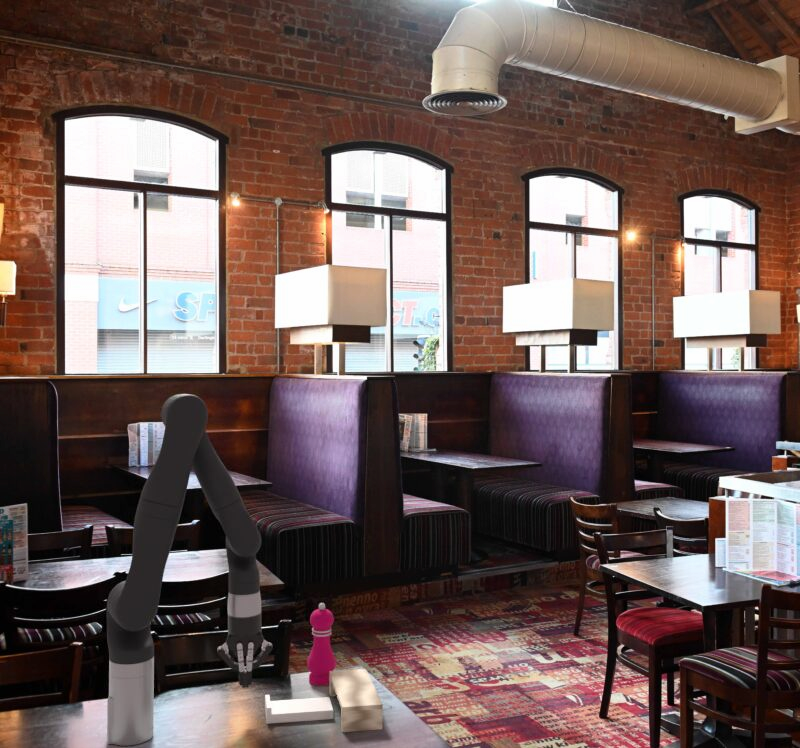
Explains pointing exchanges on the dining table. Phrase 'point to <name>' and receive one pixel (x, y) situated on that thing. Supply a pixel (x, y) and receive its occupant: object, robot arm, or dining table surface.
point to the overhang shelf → (356, 700)
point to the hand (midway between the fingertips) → (245, 686)
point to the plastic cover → (297, 710)
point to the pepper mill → (321, 647)
